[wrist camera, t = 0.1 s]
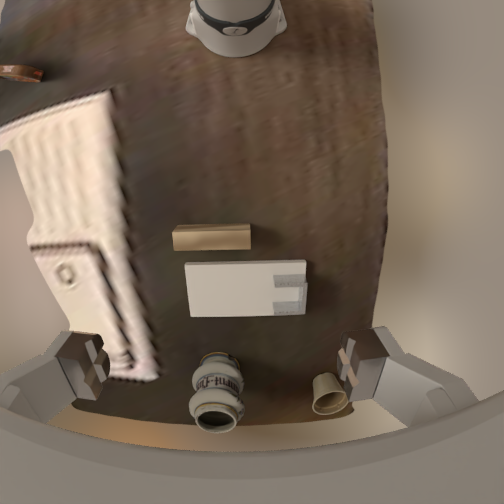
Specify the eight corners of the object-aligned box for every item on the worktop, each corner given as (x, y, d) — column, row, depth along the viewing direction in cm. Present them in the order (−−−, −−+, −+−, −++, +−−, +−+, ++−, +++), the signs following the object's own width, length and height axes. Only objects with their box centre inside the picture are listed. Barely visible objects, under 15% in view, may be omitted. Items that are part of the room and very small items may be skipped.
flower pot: (336, 391, 74) (343, 413, 66) (303, 392, 74) (309, 416, 66) (344, 367, 71) (353, 389, 63) (310, 368, 71) (316, 392, 62)
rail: (177, 224, 57) (172, 232, 52) (249, 223, 57) (250, 230, 53) (179, 242, 58) (174, 250, 53) (249, 240, 59) (250, 249, 54)
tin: (8, 80, 42) (-14, 77, 34) (11, 68, 41) (-10, 64, 33) (47, 83, 44) (24, 79, 36) (51, 70, 43) (29, 64, 35)
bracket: (186, 262, 59) (180, 273, 54) (304, 259, 60) (310, 270, 55) (191, 312, 64) (188, 327, 58) (301, 310, 64) (306, 324, 59)
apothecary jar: (253, 361, 69) (256, 418, 52) (228, 389, 72) (226, 443, 55) (209, 340, 66) (201, 397, 50) (187, 371, 70) (176, 425, 53)
